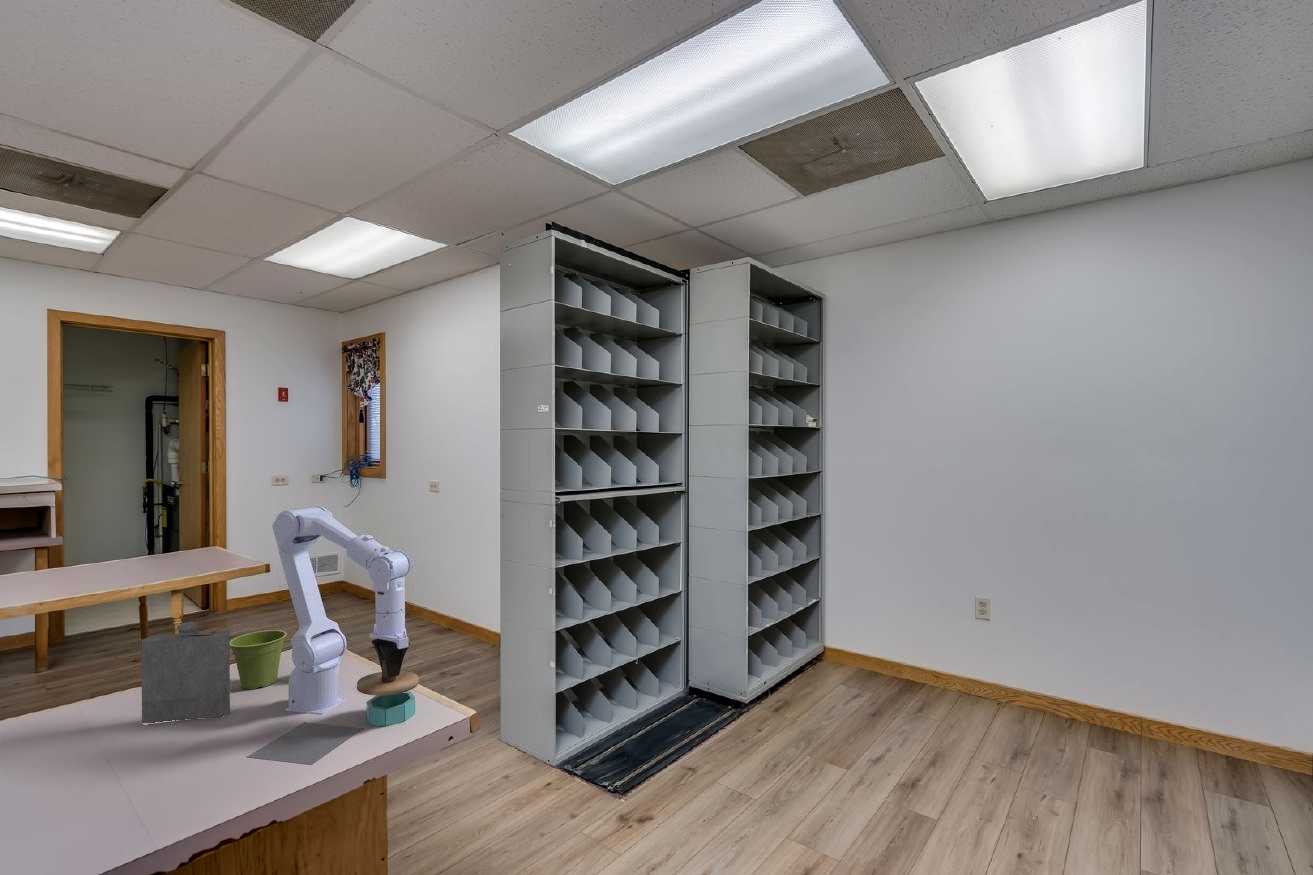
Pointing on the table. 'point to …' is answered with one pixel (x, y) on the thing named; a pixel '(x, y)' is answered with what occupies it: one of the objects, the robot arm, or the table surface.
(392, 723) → the bowl
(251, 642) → the plant pot
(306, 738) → the mat
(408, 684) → the lid
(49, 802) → the table surface
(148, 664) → the hip flask
